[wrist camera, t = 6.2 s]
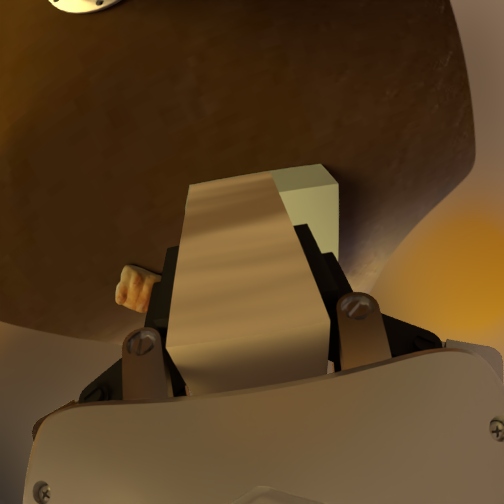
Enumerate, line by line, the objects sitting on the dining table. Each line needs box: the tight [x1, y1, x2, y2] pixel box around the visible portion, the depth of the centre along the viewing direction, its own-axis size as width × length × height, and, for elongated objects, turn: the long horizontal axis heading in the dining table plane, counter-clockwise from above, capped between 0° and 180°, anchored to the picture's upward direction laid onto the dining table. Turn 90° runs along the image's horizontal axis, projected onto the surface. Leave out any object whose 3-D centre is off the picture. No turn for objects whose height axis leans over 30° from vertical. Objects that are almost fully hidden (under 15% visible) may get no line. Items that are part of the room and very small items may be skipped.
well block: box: [185, 164, 339, 261], centre depth 36 cm, size 15×15×6 cm
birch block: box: [166, 172, 330, 395], centre depth 12 cm, size 4×4×10 cm
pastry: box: [116, 265, 162, 313], centre depth 41 cm, size 9×7×4 cm
